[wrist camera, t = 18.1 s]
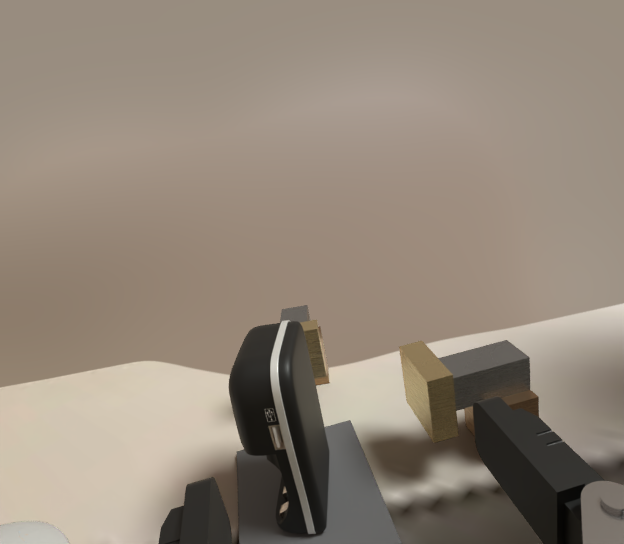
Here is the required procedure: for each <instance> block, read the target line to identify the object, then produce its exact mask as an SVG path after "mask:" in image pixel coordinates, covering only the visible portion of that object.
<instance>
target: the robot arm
mask: <svg viewBox="0 0 624 544" xmlns="http://www.w3.org/2000/svg"><path fill="white" fill-rule="evenodd" d="M473 418H474V430H475V441H476V446H477V450H478V452H479V455H480V457H481V459H482V461H483V462H484V464H485V465H486V467H487V468H488V469H489V471H490V472H491V473H492V475H493V476H494V477H495V479H496V480H497V481H498V483H499V484H500V485H501V487H502V488H503V489H504V491H505V492H506V493H507V495H508V496H509V498H510V499H511V500H512V502H513V503H514V504H515V506H516V507H517V508H518V510H519V511H520V512H521V514H522V515H523V516H524V518H525V519H526V520H527V522H528V523H529V524H530V526H531V527H532V528H533V530H534V531H535V532H536V534H537V535H538V536H539V538H540V539H541V541H542V542H543V543H544V544H624V485H621V484H619V483H615V482H610V481H605V480H604V479H603V478H602V477H601V476H600V475H598V474H597V473H596V472H595V471H594V470H593V469H592V468H591V467H590V466H589V465H588V464H587V463H586V462H585V461H584V460H583V459H582V458H581V457H580V456H579V455H578V454H577V453H575V452H574V451H573V450H572V449H571V448H570V447H569V446H568V445H567V444H566V443H565V442H562V439H561V438H560V437H559V436H558V435H557V434H556V433H555V432H552V431H551V429H550V428H549V427H548V426H547V425H546V424H545V423H544V422H543V421H542V420H541V419H540V418H539V417H538V416H536V415H534V414H532V413H530V412H528V411H526V410H524V409H522V408H519V409H516V410H512V409H511V408H510V407H509V406H508V405H507V404H506V403H505V402H504V401H503V400H502V399H501V398H500V397H498V396H496V397H492V398H489V399H485V400H482V401H478V402H475V403H474V404H473ZM159 544H232V539H231V528H230V522H229V518H228V515H227V512H226V509H225V506H224V503H223V500H222V498H221V495H220V492H219V489H218V486H217V483H216V481H215V479H214V478H213V477H212V478H208V479H205V480H201V481H198V482H194V483H191V484H188V485H187V487H186V493H185V502H184V506H181V507H178V508H174V509H171V511H170V513H169V515H168V516H167V518H166V520H165V522H164V524H163V525H162V527H161V532H160V538H159Z"/></svg>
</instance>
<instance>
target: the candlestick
mask: <svg viewBox="0 0 624 544" xmlns="http://www.w3.org/2000/svg"><path fill="white" fill-rule="evenodd" d="M0 544H70V543H69V541H68V539H67V537H66V536H65V534H64V533H63V532H62V531H61V530H60V529H58V528H57V527H55V526H54V525H51V524H49V523H45V522H40V521H21V522H13V523H8V524H3V525H0Z"/></svg>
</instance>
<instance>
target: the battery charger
mask: <svg viewBox="0 0 624 544" xmlns="http://www.w3.org/2000/svg"><path fill="white" fill-rule="evenodd" d="M229 394H230V399H231V403H232V408H233V412H234V417H235V421H236V425H237V429H238V433H239V436H240V440H241V443H242V445H243V447H244V450H245V452H246V453H247V454H248V455H253V456H266V457H267V460H268V461H270V462H271V463H272V464H274V465H275V466H276V467H277V468H278V469H279V470H280V472H281V474H282V477H281V483H280V489H279V494H278V500H277V506H276V521H277V524H278V526H279V527H280V528H281V529H282V530H283V531H286V532H290V533H308V534H316V532H321V531H324V530H325V529H326V526H327V507H328V484H329V454H330V451H329V446H328V442H327V437H326V433H325V428H324V424H323V419H322V414H321V409H320V404H319V399H318V394H317V389H316V384H315V380H314V375H313V370H312V365H311V361H310V356H309V352H308V347H307V343H306V338H305V334H304V330H303V327H302V325H301V324H300V322H298V321H292V322H291V321H290V320H286V321H282V322H281V323H277V324H270V325H263V326H258V327H255V328H253V329H252V330H250V331H249V333H248V334H247V336H246V338H245V339H244V342H243V344H242V346H241V348H240V350H239V353H238V355H237V358H236V360H235V363H234V365H233V368H232V371H231V374H230V379H229Z"/></svg>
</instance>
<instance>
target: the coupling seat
mask: <svg viewBox="0 0 624 544" xmlns="http://www.w3.org/2000/svg"><path fill="white" fill-rule="evenodd" d="M324 428H325V433H326V437H327V442H328V446H329V451H330V454H329V484H328V507H327V526H326V529H325V530H324V531H321V532H316V534H308V533H290V532H286V531H283V530H282V529H281V528H280V527H279V526H278V524H277V521H276V506H277V500H278V494H279V489H280V483H281V477H282V474H281V472H280V470H279V469H278V468H277V467H276V466H275V465H274V464H272V463H271V462H270V461H268V460H267V457H266V456H253V455H248V454H247V453H246V452H245V450H241V451H237V478H238V516H239V544H402V543H401V540H400V538H399V535H398V533H397V531H396V528H395V526H394V523H393V521H392V519H391V516H390V514H389V512H388V509H387V507H386V504H385V502H384V500H383V497H382V495H381V492H380V490H379V488H378V485H377V483H376V480H375V478H374V476H373V473H372V471H371V469H370V466H369V464H368V461H367V459H366V457H365V454H364V452H363V449H362V447H361V445H360V442H359V440H358V437H357V435H356V433H355V430H354V428H353V426H352V423H351V421H350V420H349V421H345V422H342V423H338V424H335V425H331V426H327V427H324Z"/></svg>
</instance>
